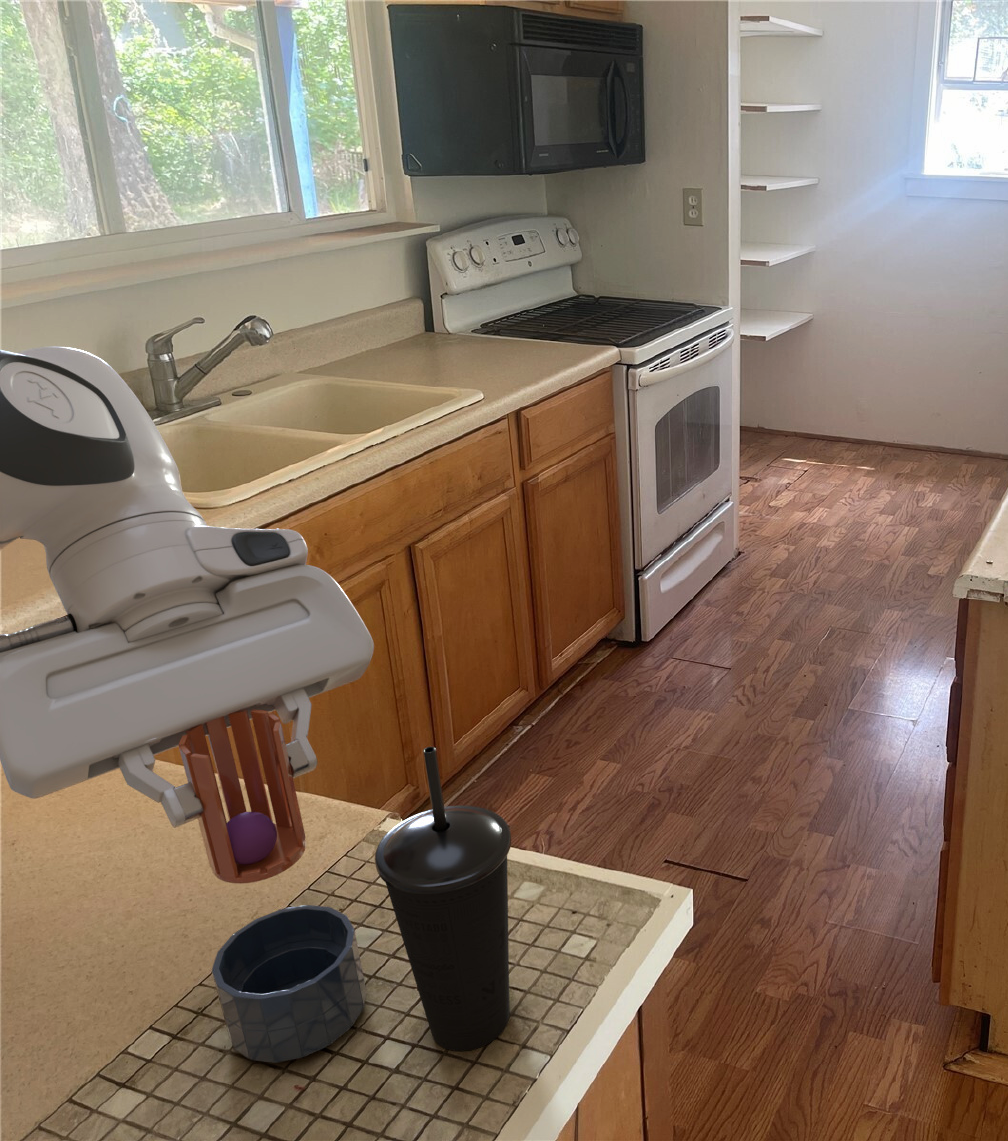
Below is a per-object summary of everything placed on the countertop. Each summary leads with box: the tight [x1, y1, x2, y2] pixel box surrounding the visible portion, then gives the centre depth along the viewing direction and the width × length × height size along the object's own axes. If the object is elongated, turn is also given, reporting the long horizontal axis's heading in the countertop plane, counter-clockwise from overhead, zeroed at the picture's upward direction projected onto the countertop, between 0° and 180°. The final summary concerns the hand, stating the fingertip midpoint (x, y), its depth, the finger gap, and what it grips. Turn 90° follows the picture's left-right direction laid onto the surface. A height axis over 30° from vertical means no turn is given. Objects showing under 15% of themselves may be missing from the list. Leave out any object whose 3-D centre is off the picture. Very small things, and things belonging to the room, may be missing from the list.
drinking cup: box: [374, 746, 512, 1052], centre depth 63 cm, size 8×8×20 cm
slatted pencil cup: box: [178, 709, 307, 884], centre depth 62 cm, size 5×5×8 cm
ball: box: [226, 811, 277, 865], centre depth 62 cm, size 3×3×3 cm
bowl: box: [211, 904, 367, 1064], centre depth 67 cm, size 8×8×6 cm
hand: (249, 794), depth 62 cm, fingers closed on slatted pencil cup, 5 cm apart
